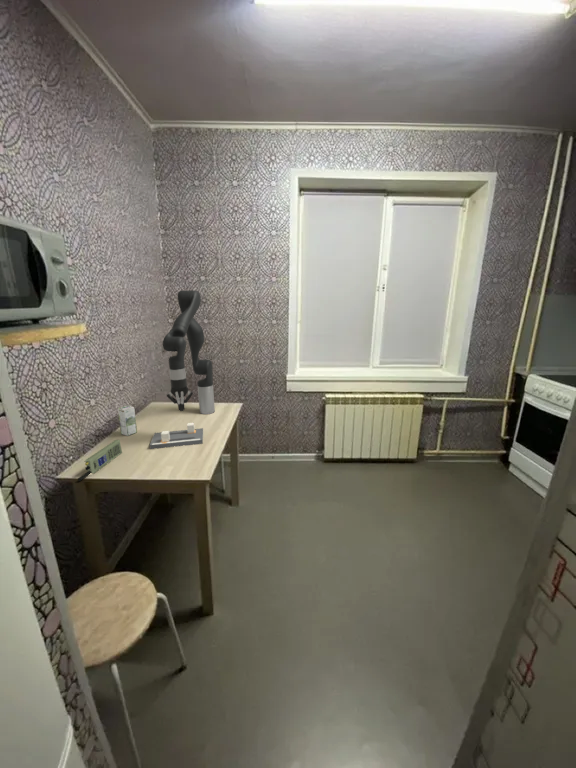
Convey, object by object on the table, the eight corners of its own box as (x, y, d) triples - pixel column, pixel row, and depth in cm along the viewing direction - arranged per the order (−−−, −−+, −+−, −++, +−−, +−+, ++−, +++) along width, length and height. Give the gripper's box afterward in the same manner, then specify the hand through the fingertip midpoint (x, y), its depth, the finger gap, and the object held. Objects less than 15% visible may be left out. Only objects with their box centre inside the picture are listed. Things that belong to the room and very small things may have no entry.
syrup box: (130, 430, 171) (127, 404, 167) (137, 432, 168) (134, 406, 165) (120, 434, 166) (116, 408, 163) (127, 436, 163) (124, 409, 160)
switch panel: (155, 436, 163) (154, 432, 162) (203, 431, 168) (202, 428, 168) (150, 449, 149) (149, 445, 148) (202, 443, 154) (202, 439, 154)
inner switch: (188, 430, 164) (187, 423, 163) (194, 429, 165) (193, 422, 164) (187, 433, 161) (186, 425, 160) (194, 432, 162) (193, 425, 161)
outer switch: (163, 438, 154) (162, 431, 153) (169, 438, 155) (169, 430, 154) (162, 441, 151) (161, 434, 150) (169, 441, 152) (168, 433, 151)
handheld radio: (123, 453, 146) (83, 482, 122) (117, 452, 146) (76, 482, 122) (121, 439, 144) (80, 467, 120) (114, 439, 144) (72, 467, 120)
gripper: (192, 374, 160) (195, 407, 165) (164, 376, 157) (168, 409, 162) (191, 378, 153) (195, 412, 157) (162, 380, 150) (167, 414, 155)
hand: (181, 410), depth 160 cm, fingers closed
